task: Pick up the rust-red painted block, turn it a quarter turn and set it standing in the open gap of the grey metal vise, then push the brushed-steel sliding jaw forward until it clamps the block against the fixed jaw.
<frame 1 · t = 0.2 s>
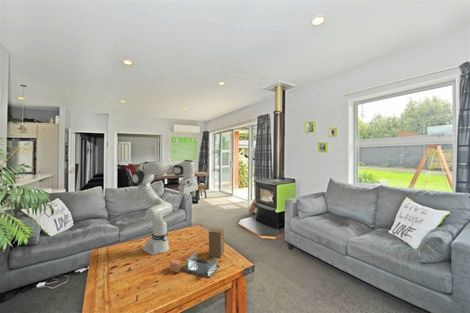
hand: (189, 197, 161), 47 cm above the table, fingers open, 8 cm apart
vise base: (201, 268, 146), on the table
sliding jaw: (191, 260, 149), point 5 cm above the table, slide at 0.0 cm
rust block: (175, 269, 145), on the table
wooden block: (216, 254, 167), on the table
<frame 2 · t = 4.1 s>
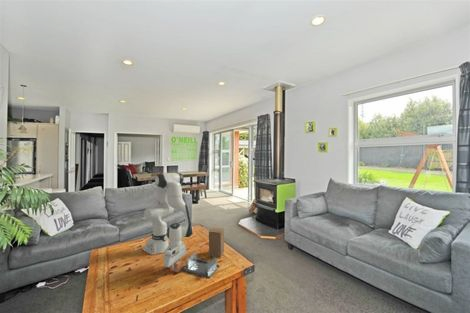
hand: (175, 266, 145), 2 cm above the table, fingers closed on rust block, 4 cm apart
rust block: (175, 269, 145), on the table, touching gripper
everything else where it was.
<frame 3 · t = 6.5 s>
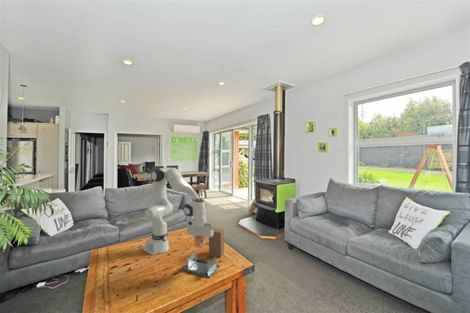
hand: (200, 241, 145), 20 cm above the table, fingers closed on rust block, 4 cm apart
rust block: (200, 244, 145), point 18 cm above the table, touching gripper
everything else where it was.
when the fingers open (5 cm above the table, at t = 9.2 s): rust block drops 1 cm, resting on vise base.
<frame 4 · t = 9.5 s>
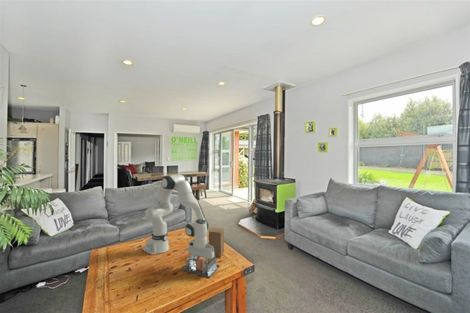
hand: (201, 262, 146), 5 cm above the table, fingers open, 7 cm apart
rust block: (201, 267, 146), point 1 cm above the table, touching vise base
everything else where it was.
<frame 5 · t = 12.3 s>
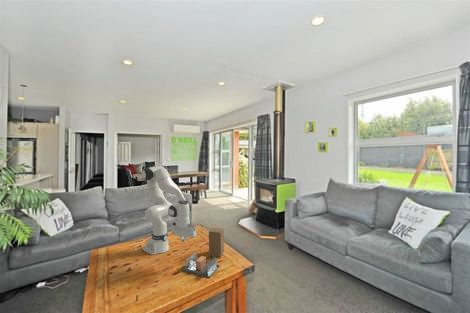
hand: (183, 241, 151), 17 cm above the table, fingers closed
nothing on the table moved.
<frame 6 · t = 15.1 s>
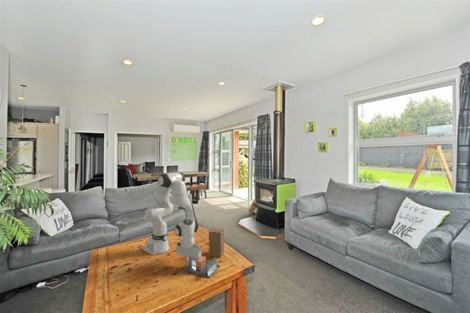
hand: (188, 261, 150), 3 cm above the table, fingers closed
sliding jaw: (192, 260, 148), point 5 cm above the table, slide at 0.8 cm, touching gripper
everything else where it was.
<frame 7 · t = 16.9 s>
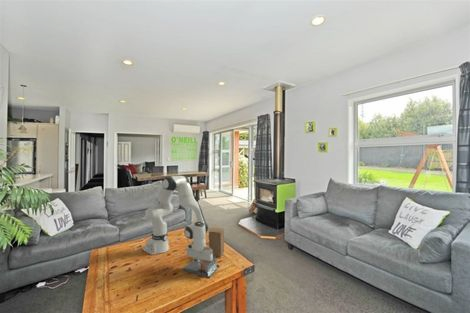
hand: (199, 264, 146), 3 cm above the table, fingers closed
sliding jaw: (203, 263, 145), point 5 cm above the table, slide at 10.0 cm, touching gripper, rust block
rust block: (207, 268, 144), point 1 cm above the table, touching sliding jaw, vise base
everything else where it was.
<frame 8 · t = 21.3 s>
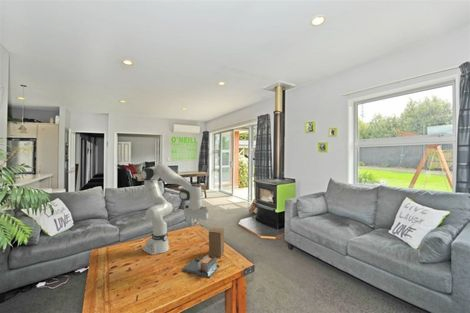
hand: (196, 224, 154), 29 cm above the table, fingers closed
sliding jaw: (203, 263, 145), point 5 cm above the table, slide at 10.0 cm, touching rust block
everything else where it was.
at the end: sliding jaw slide at 10.0 cm; rust block inside the target area (0.3 cm from its centre), point 1.2 cm above the table; rust block tilted 0° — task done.
